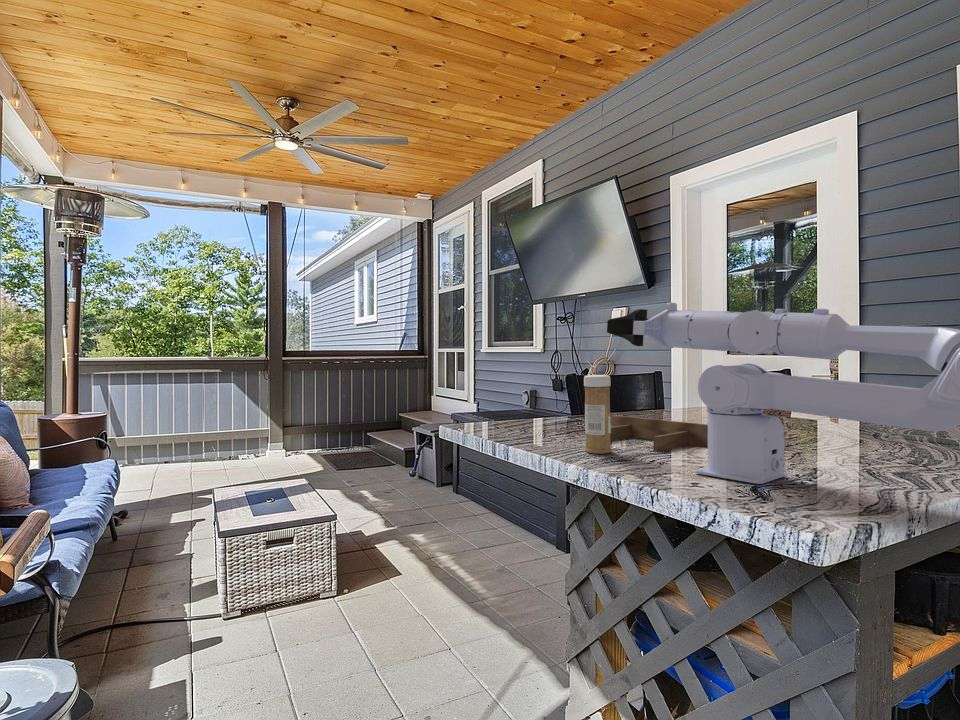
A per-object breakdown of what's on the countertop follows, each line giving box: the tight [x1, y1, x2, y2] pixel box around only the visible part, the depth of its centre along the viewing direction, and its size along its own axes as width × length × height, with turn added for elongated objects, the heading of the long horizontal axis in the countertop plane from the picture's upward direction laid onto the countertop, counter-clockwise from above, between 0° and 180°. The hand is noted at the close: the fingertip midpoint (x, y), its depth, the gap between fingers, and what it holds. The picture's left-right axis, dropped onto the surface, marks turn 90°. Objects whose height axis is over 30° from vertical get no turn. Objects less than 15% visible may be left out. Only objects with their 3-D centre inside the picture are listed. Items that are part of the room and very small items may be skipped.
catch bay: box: [610, 414, 708, 452], centre depth 111 cm, size 22×11×4 cm, turn 39°
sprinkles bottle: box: [583, 374, 612, 455], centre depth 102 cm, size 5×5×14 cm
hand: (623, 326), depth 97 cm, fingers open, 7 cm apart
